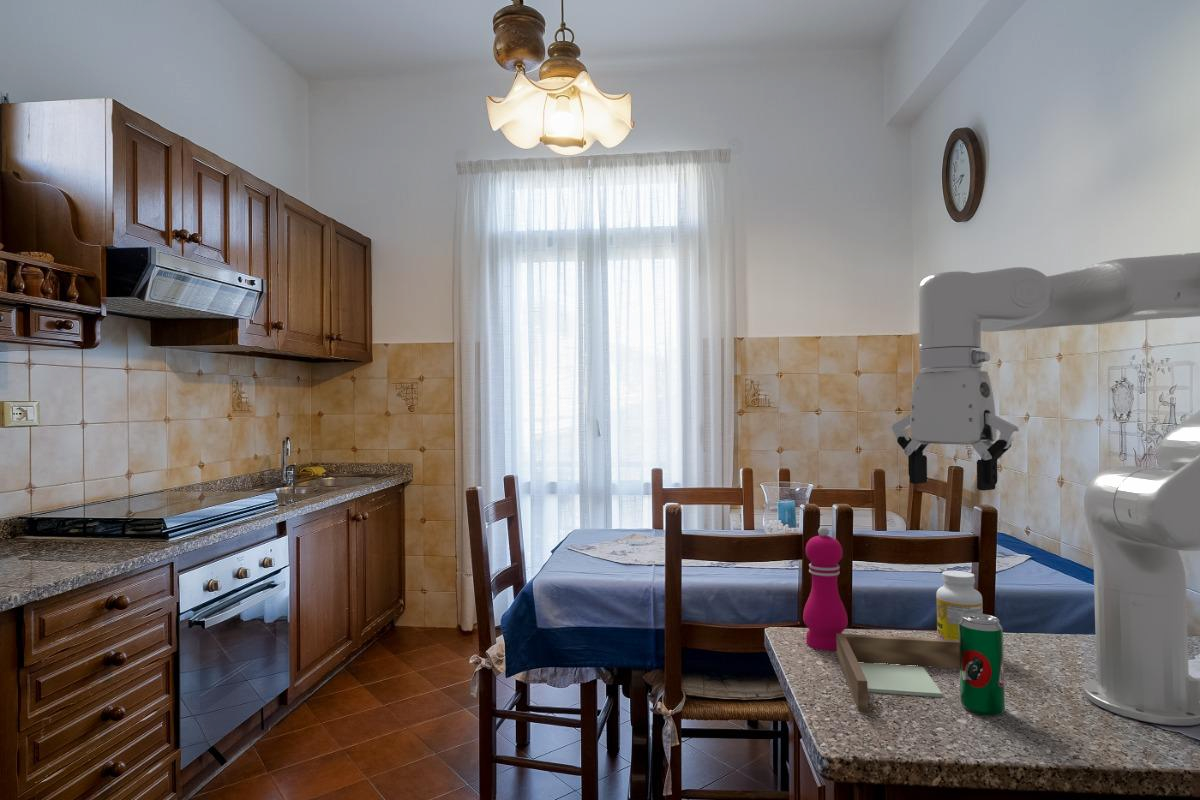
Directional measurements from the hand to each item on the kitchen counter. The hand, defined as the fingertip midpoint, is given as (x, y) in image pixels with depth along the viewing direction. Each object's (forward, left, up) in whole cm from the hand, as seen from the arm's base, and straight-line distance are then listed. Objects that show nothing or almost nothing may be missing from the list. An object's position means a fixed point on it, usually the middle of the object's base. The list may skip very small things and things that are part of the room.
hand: (950, 486), depth 91 cm
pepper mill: (+15, -19, -29) cm, 38 cm away
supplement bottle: (-6, -19, -29) cm, 35 cm away
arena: (+4, -3, -29) cm, 29 cm away
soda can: (-2, +3, -29) cm, 29 cm away
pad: (+7, -5, -29) cm, 30 cm away
